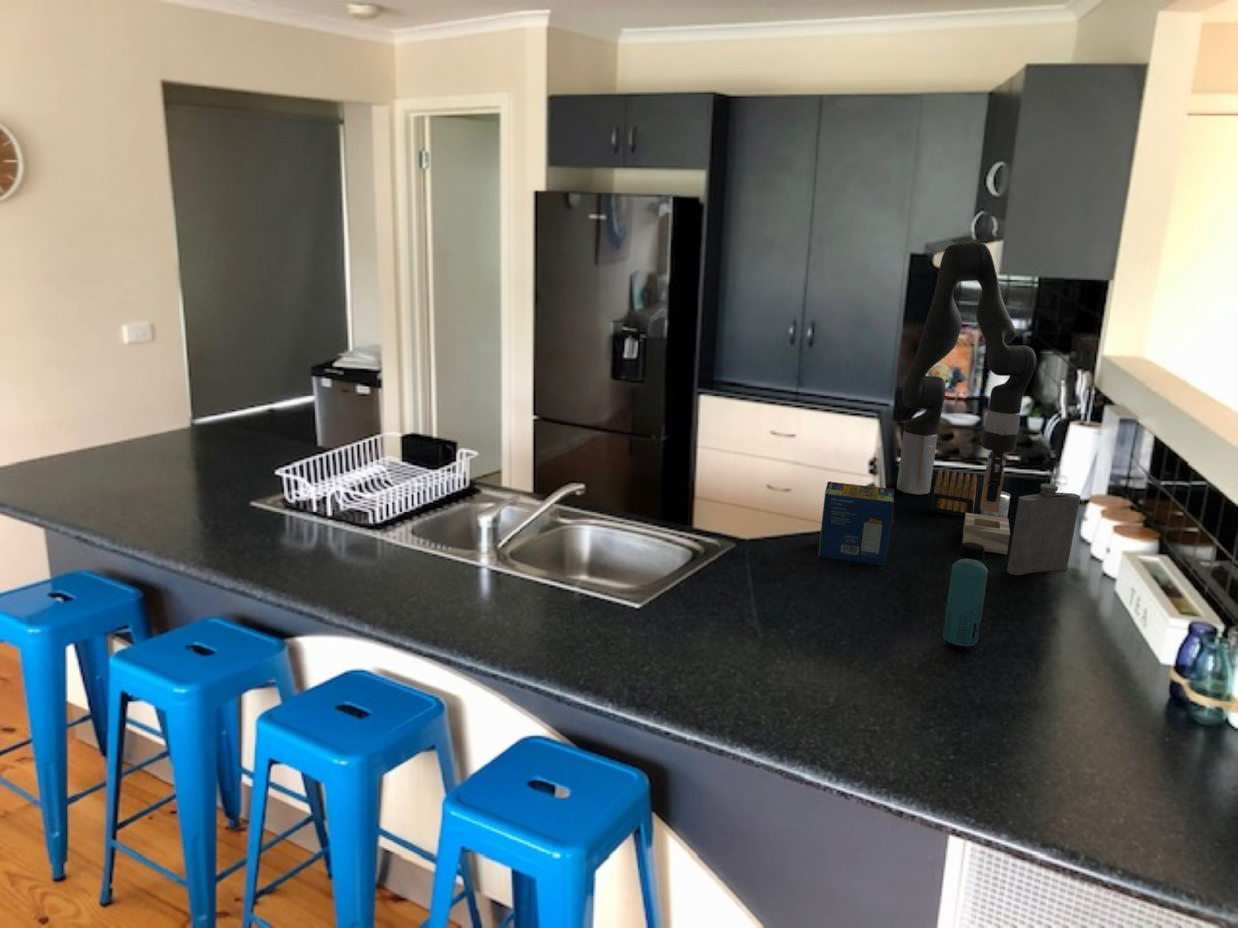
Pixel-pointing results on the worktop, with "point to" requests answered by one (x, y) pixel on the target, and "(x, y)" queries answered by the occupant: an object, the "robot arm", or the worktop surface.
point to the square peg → (986, 504)
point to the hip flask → (1043, 531)
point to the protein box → (856, 523)
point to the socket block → (987, 532)
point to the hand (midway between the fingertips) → (990, 498)
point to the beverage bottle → (966, 597)
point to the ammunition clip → (957, 498)
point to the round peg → (1000, 507)
